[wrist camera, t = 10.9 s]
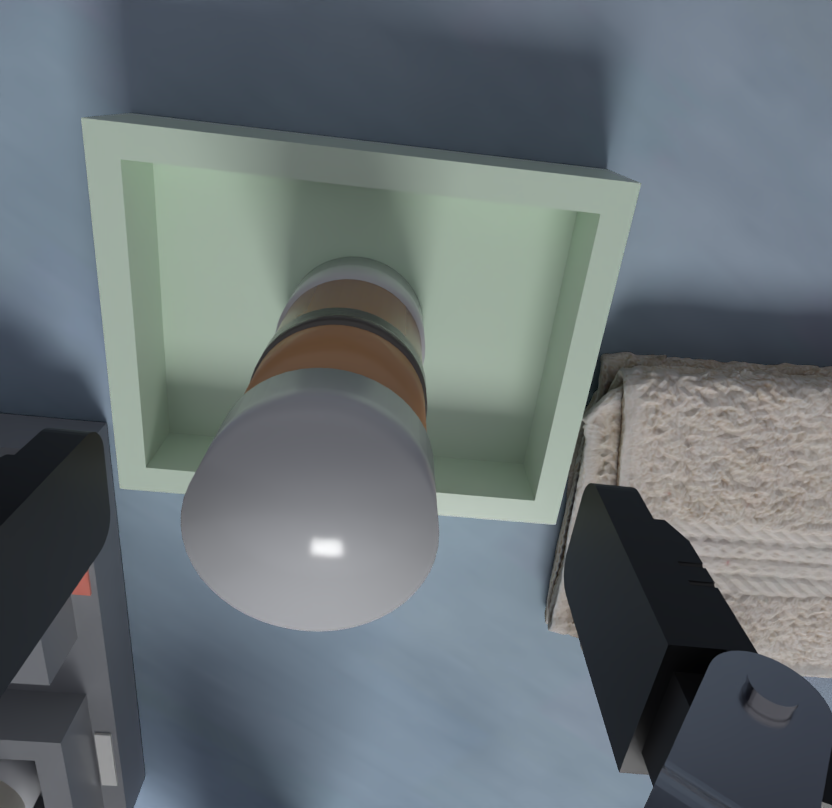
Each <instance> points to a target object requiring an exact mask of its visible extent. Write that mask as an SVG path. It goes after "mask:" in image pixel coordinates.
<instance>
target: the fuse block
mask: <svg viewBox="0 0 832 808" xmlns="http://www.w3.org/2000/svg"><path fill="white" fill-rule="evenodd" d="M48 427H50V428H60V429H70V430H80V431H90V432H97V433H98V434H99V435H100V436H101V439H102V441H103V446H104V454H105V464H106V474H107V484H108V493H109V503H110V526H109V531H108V535H107V538H106V541H105V544H104V546H103V548H102V550H101V551H100V553H99V554H98V556H97V557H96V559H95V560H94V562H93V563H92V565H91V566H90V568H89V569H88V570H87V572H86V573H85V575H84V576H83V578H82V579H81V581H80V582H79V584H78V585H77V587H76V588H75V589H74V591H73V592H72V594H71V595H70V597H69V598H68V600H67V601H66V603H65V604H64V606H63V607H62V608H61V610H60V611H59V613H58V614H57V616H56V617H55V619H54V620H53V622H52V623H51V625H50V626H49V627H48V629H47V630H46V632H45V633H44V635H43V636H42V638H41V639H40V641H39V642H38V644H37V645H36V646H35V648H34V649H33V651H32V652H31V654H30V655H29V657H28V658H27V660H26V661H25V663H24V664H23V665H22V667H21V668H20V670H19V671H18V673H17V674H16V676H15V677H14V679H13V680H12V682H11V683H10V684H9V686H8V687H7V689H6V690H5V692H4V693H3V695H2V696H1V698H0V759H12V760H30V761H35V764H36V769H37V773H38V778H39V782H40V787H41V793H40V795H39V797H38V799H37V801H36V803H35V805H34V806H33V808H134V805H135V803H136V800H137V797H138V795H139V792H140V789H141V787H142V784H143V781H144V779H145V769H144V760H143V751H142V742H141V733H140V724H139V714H138V705H137V696H136V687H135V678H134V669H133V659H132V650H131V641H130V632H129V623H128V614H127V605H126V595H125V586H124V577H123V568H122V559H121V550H120V541H119V531H118V522H117V513H116V504H115V495H114V486H113V476H112V467H111V458H110V449H109V440H108V431H107V423H103V422H92V421H81V420H70V419H59V418H47V417H36V416H25V415H14V414H2V413H0V457H2V456H4V455H6V454H10V455H15V454H16V453H17V452H18V451H19V450H20V449H21V448H23V447H24V446H25V445H26V444H27V443H28V442H29V441H30V440H31V439H32V438H34V437H35V436H36V435H37V434H38V433H39V432H40V431H41V430H43V429H45V428H48Z"/></svg>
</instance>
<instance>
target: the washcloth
mask: <svg viewBox="0 0 832 808" xmlns="http://www.w3.org/2000/svg"><path fill="white" fill-rule="evenodd" d="M600 361H601V369H600V375H599V386H598V390H597V391H595V392H594V393H593V396H592V399H591V401H590V403H589V405H588V406H587V407H586V409H585V411H584V414H583V418H582V422H581V425H580V429H579V433H578V437H577V441H576V445H575V449H574V453H573V457H572V461H571V465H570V470H569V475H568V478H569V479H568V484H567V502H566V509H565V514H564V519H563V522H562V526H561V530H560V533H559V539H558V542H557V546H556V551H555V560H554V563H553V569H552V575H551V579H550V584H549V592H548V596H547V605H546V609H545V622H546V624H548V630H550V631H553V632H556V633H560V634H563V635H565V634H569V635H571V636H573V637H577V638H579V637H578V634H577V630H576V627H575V624H574V620H573V617H572V614H571V610H570V607H569V604H568V601H567V597H566V593H565V588H564V564H565V558H566V553H567V550H568V546H569V542H570V539H571V535H572V531H573V528H574V524H575V520H576V517H577V513H578V509H579V506H580V502H581V498H582V495H583V492H584V490H585V488H586V486H587V485H588V484H589V483H596V484H606V485H616V486H626V487H634V488H636V489H637V490H638V492H639V493H640V495H641V497H642V499H643V501H644V502H645V504H646V506H647V508H648V510H649V511H650V513H651V515H652V517H653V518H654V519H660V520H665V521H667V522H668V523H669V524H670V525H671V526H672V527H674V528H675V529H676V530H677V531H678V532H679V533H681V534H682V535H683V536H684V537H685V538H686V539H688V540H689V541H690V543H691V545H692V546H693V548H694V550H695V551H696V553H697V554H698V556H699V558H700V559H701V561H702V563H703V568H706V569H707V571H708V572H709V574H710V576H711V577H712V579H713V581H714V582H715V584H714V586H715V587H716V588H718V589H719V590H720V592H721V594H722V595H723V597H724V599H725V600H726V602H727V604H728V605H729V607H730V608H731V610H732V612H733V613H734V615H735V617H736V618H737V620H738V621H739V623H740V625H741V626H742V628H743V630H744V631H745V633H746V635H747V636H748V638H749V639H750V641H751V643H752V644H753V646H754V648H755V649H756V651H757V653H758V654H761V655H763V656H766V657H769V658H771V659H774V660H776V661H778V662H780V663H782V664H784V665H786V666H787V667H789V668H791V669H792V670H794V671H795V672H797V673H798V674H799V675H801V676H809V677H819V678H820V677H823V678H832V366H828V367H822V368H819V367H818V366H815V365H794V364H789V363H781V364H779V365H763V364H754V363H747V362H737V361H731V362H728V363H721V362H718V361H715V360H704V359H693V360H692V359H690V358H682V359H681V358H679V357H668V358H667V356H666V355H635V354H632V353H631V352H619V353H615V354H606V353H605V354H602V355H601V357H600ZM580 646H581V644H580ZM581 649H582V647H581ZM582 651H583V650H582Z"/></svg>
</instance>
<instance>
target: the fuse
mask: <svg viewBox="0 0 832 808" xmlns="http://www.w3.org/2000/svg"><path fill="white" fill-rule="evenodd" d="M40 793H41V787H40V782H39V778H38V773H37V769H36V764H35V761H30V760H12V759H0V808H33V806H34V805H35V803H36V801H37V799H38V797H39V795H40Z"/></svg>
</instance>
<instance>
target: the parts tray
mask: <svg viewBox="0 0 832 808" xmlns="http://www.w3.org/2000/svg"><path fill="white" fill-rule="evenodd" d="M81 121H82V131H83V141H84V150H85V160H86V169H87V179H88V188H89V198H90V208H91V217H92V227H93V236H94V246H95V255H96V265H97V275H98V284H99V294H100V303H101V313H102V322H103V332H104V342H105V351H106V361H107V370H108V380H109V389H110V399H111V409H112V418H113V428H114V437H115V447H116V456H117V466H118V476H119V485H120V489H130V490H142V491H154V492H166V493H178V494H185V493H186V491H187V488H188V485H189V483H190V481H191V480H192V478H193V476H194V474H195V472H196V470H197V469H198V467H199V465H200V463H201V461H202V459H203V457H204V456H205V454H206V452H207V450H208V448H209V446H210V445H211V443H212V441H213V439H214V437H215V435H216V434H217V432H218V430H219V428H220V426H221V424H222V422H223V421H224V419H225V417H226V416H227V414H228V412H229V411H230V409H231V408H232V407H233V406H234V404H235V403H236V402H237V401H238V400H239V399H240V398H241V397H242V396H243V395H244V393H245V391H246V389H247V387H248V385H249V383H250V380H251V377H252V374H253V371H254V369H255V367H256V365H257V363H258V361H259V359H260V357H261V356H262V354H263V352H264V350H265V348H266V347H267V345H268V343H269V341H270V340H271V339H272V338H273V336H274V335H275V333H276V328H277V324H278V321H279V319H280V316H281V314H282V312H283V310H284V308H285V306H286V305H287V303H288V301H289V299H290V297H291V295H292V294H293V292H294V290H295V288H296V287H297V285H298V284H299V282H300V281H301V280H302V278H303V277H304V276H305V275H307V274H308V273H309V272H310V271H311V270H313V269H314V268H315V267H317V266H319V265H321V264H322V263H324V262H327V261H330V260H332V259H336V258H341V257H351V256H352V257H364V258H370V259H373V260H376V261H379V262H381V263H384V264H386V265H388V266H389V267H391V268H393V269H394V270H396V271H397V272H398V273H399V274H401V275H402V276H403V277H404V278H405V279H406V280H407V282H408V283H409V284H410V285H411V287H412V288H413V290H414V291H415V293H416V295H417V297H418V299H419V302H420V305H421V309H422V313H423V323H424V336H425V358H424V363H423V369H424V373H425V379H426V393H427V417H426V429H427V434H428V437H429V439H430V442H431V446H432V451H433V457H434V470H435V483H436V497H437V510H438V515H443V516H455V517H467V518H479V519H491V520H503V521H515V522H527V523H539V524H551V525H556V521H557V517H558V513H559V509H560V505H561V501H562V497H563V493H564V489H565V485H566V481H567V477H568V473H569V469H570V465H571V461H572V457H573V453H574V449H575V445H576V441H577V437H578V433H579V429H580V425H581V422H582V418H583V414H584V410H585V406H586V402H587V398H588V394H589V390H590V386H591V382H592V378H593V374H594V370H595V366H596V362H597V358H598V354H599V350H600V346H601V342H602V338H603V334H604V330H605V326H606V322H607V318H608V314H609V310H610V306H611V302H612V298H613V294H614V290H615V286H616V282H617V278H618V274H619V270H620V266H621V262H622V258H623V254H624V250H625V246H626V242H627V238H628V234H629V230H630V226H631V222H632V218H633V214H634V210H635V207H636V203H637V199H638V195H639V191H640V187H641V183H639V182H637V181H634V180H632V179H629V178H627V177H625V176H622V175H620V174H617V173H615V172H612V171H610V170H608V169H600V168H591V167H583V166H575V165H566V164H558V163H549V162H541V161H532V160H524V159H515V158H507V157H498V156H490V155H482V154H473V153H465V152H456V151H448V150H439V149H431V148H422V147H414V146H405V145H397V144H388V143H380V142H372V141H363V140H355V139H346V138H338V137H329V136H321V135H312V134H304V133H295V132H287V131H279V130H270V129H262V128H253V127H245V126H236V125H228V124H219V123H211V122H202V121H194V120H185V119H177V118H169V117H160V116H152V115H143V114H135V113H124V114H114V115H104V116H94V117H84V118H81Z"/></svg>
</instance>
